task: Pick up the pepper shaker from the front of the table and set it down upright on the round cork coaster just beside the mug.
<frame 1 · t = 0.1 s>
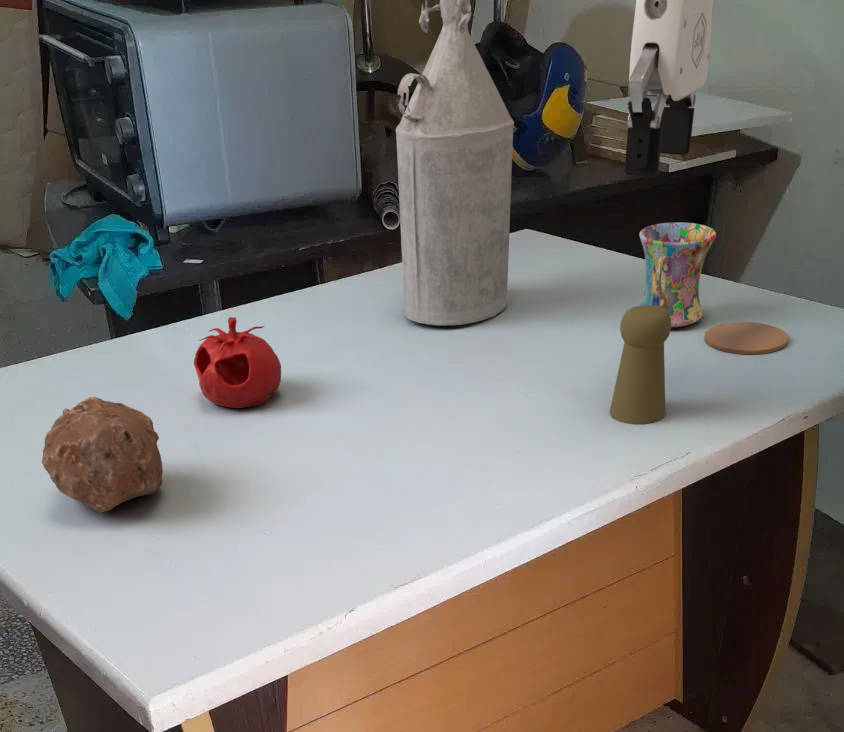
hand: (657, 163, 100), 23 cm above the table, tool pointing down, fingers open, 9 cm apart
coaster: (745, 339, 126), on the table
pepper shaker: (637, 414, 111), on the table
canister: (456, 313, 139), on the table
mug: (665, 325, 132), on the table
decorative rock: (115, 499, 102), on the table
hollow red tomato: (242, 399, 120), on the table
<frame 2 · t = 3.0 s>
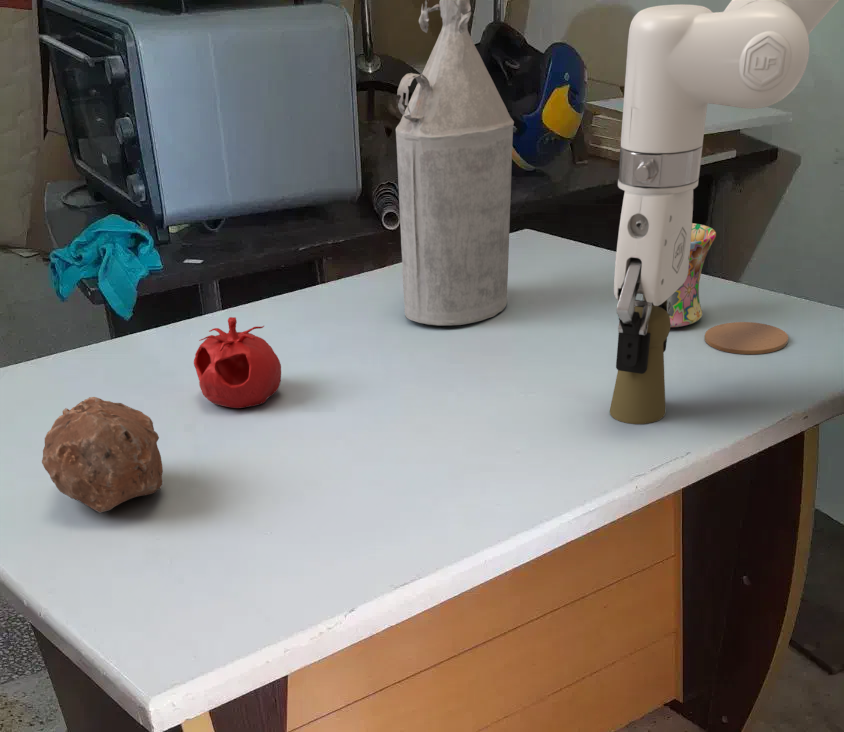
hand: (641, 359, 107), 6 cm above the table, tool pointing down, fingers closed on pepper shaker, 5 cm apart
pepper shaker: (637, 413, 111), on the table, touching gripper
everything else where it was.
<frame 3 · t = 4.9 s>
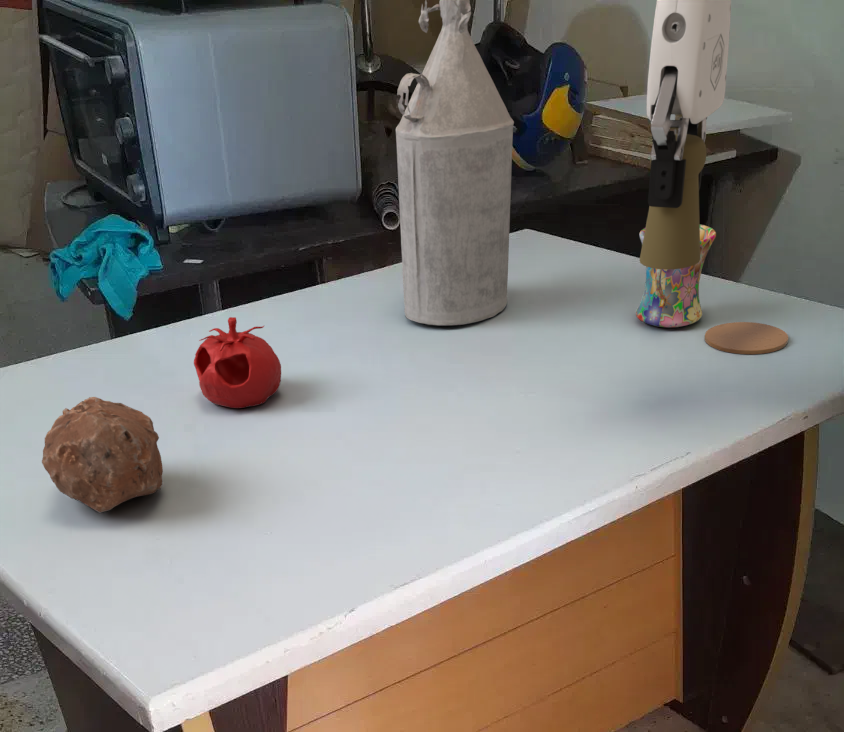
hand: (674, 196, 99), 21 cm above the table, tool pointing down, fingers closed on pepper shaker, 5 cm apart
pepper shaker: (669, 261, 103), point 15 cm above the table, touching gripper
everything else where it was.
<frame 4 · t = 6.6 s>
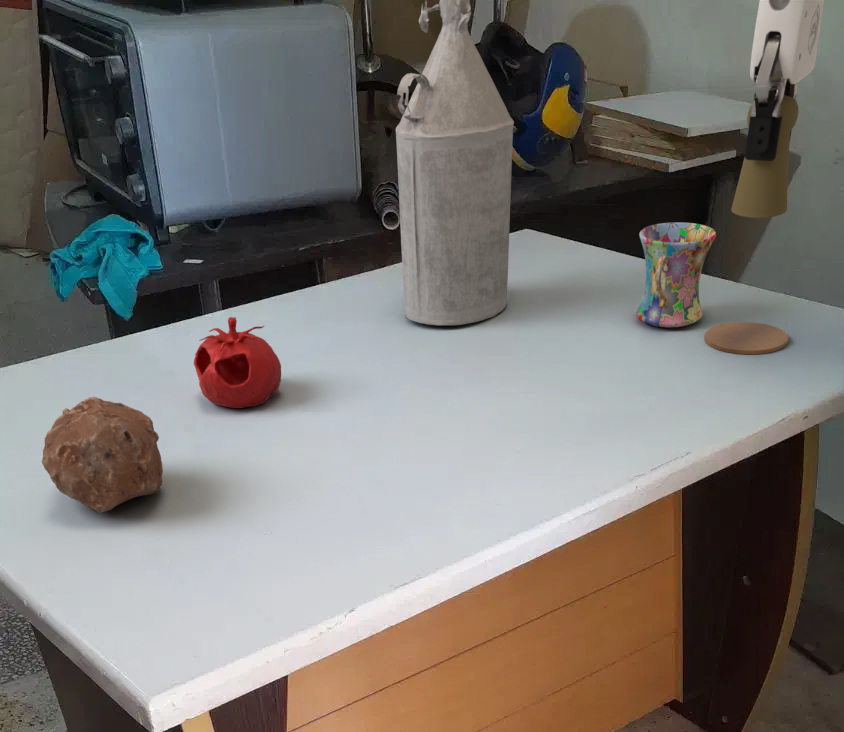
hand: (767, 151, 111), 21 cm above the table, tool pointing down, fingers closed on pepper shaker, 5 cm apart
pepper shaker: (758, 211, 115), point 15 cm above the table, touching gripper
everything else where it was.
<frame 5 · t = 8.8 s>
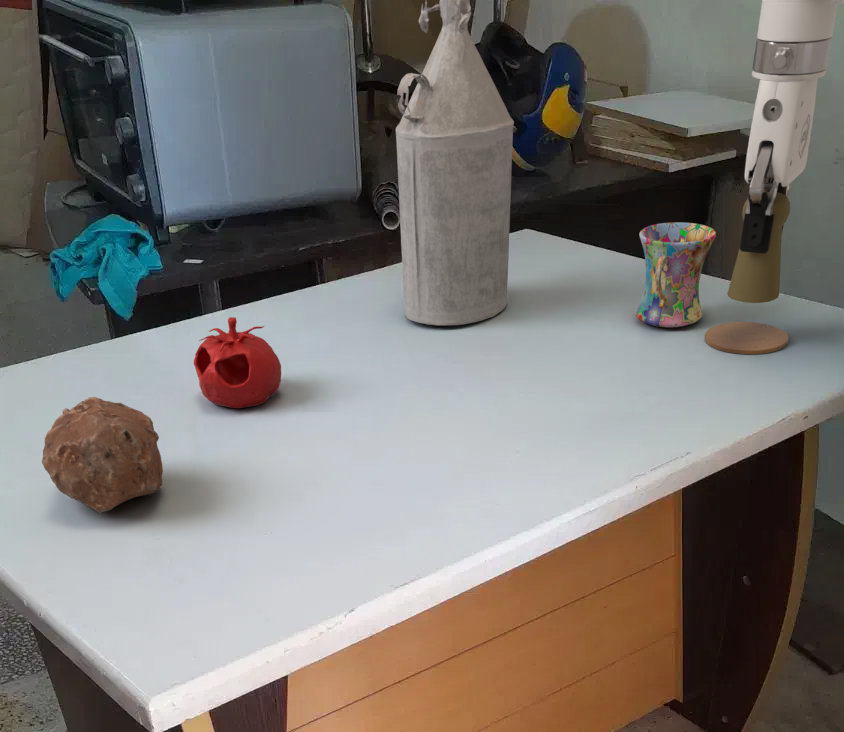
hand: (760, 242, 119), 11 cm above the table, tool pointing down, fingers closed on pepper shaker, 5 cm apart
pepper shaker: (752, 295, 123), point 5 cm above the table, touching gripper
everything else where it was.
when the fingers open (6 cm above the table, at t = 10.4 s): pepper shaker stays where it is, resting on coaster.
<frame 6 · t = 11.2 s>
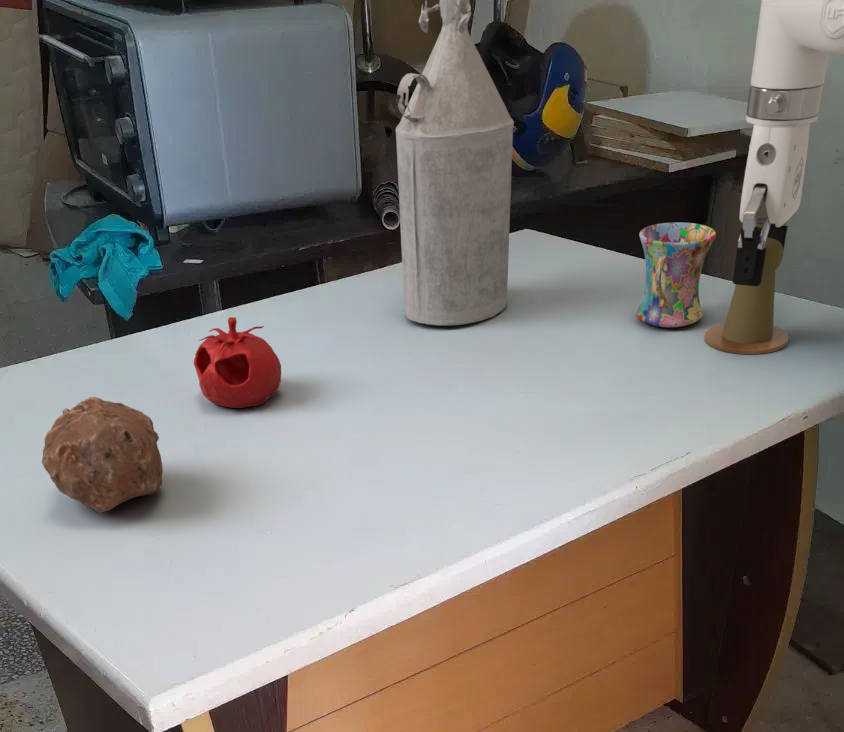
hand: (757, 272, 121), 8 cm above the table, tool pointing down, fingers open, 9 cm apart
pepper shaker: (747, 336, 126), resting on coaster
everything else where it was.
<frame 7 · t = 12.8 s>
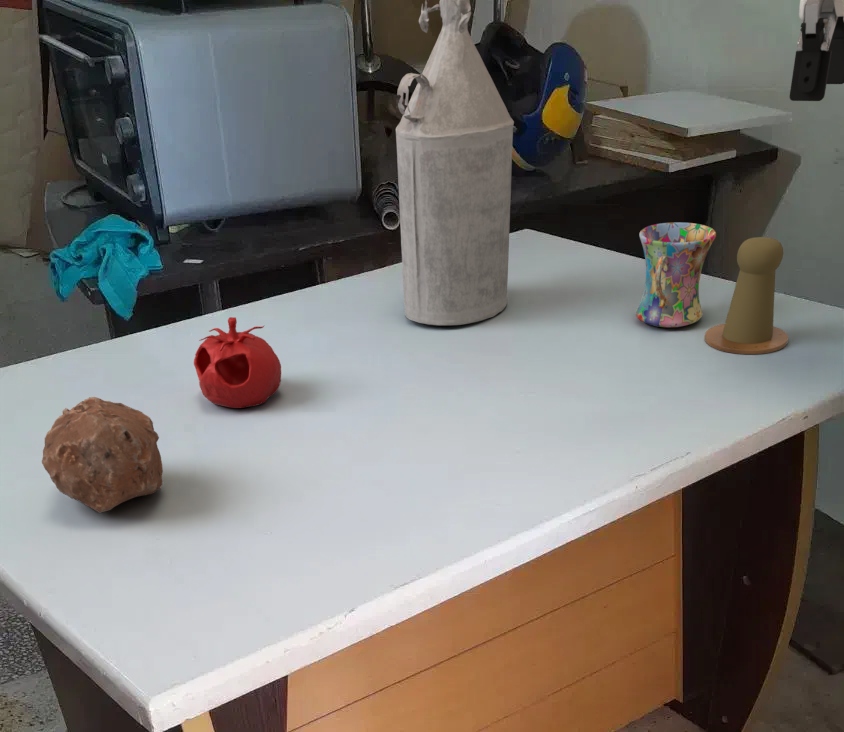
hand: (818, 91, 101), 27 cm above the table, tool pointing down, fingers open, 9 cm apart
nothing on the table moved.
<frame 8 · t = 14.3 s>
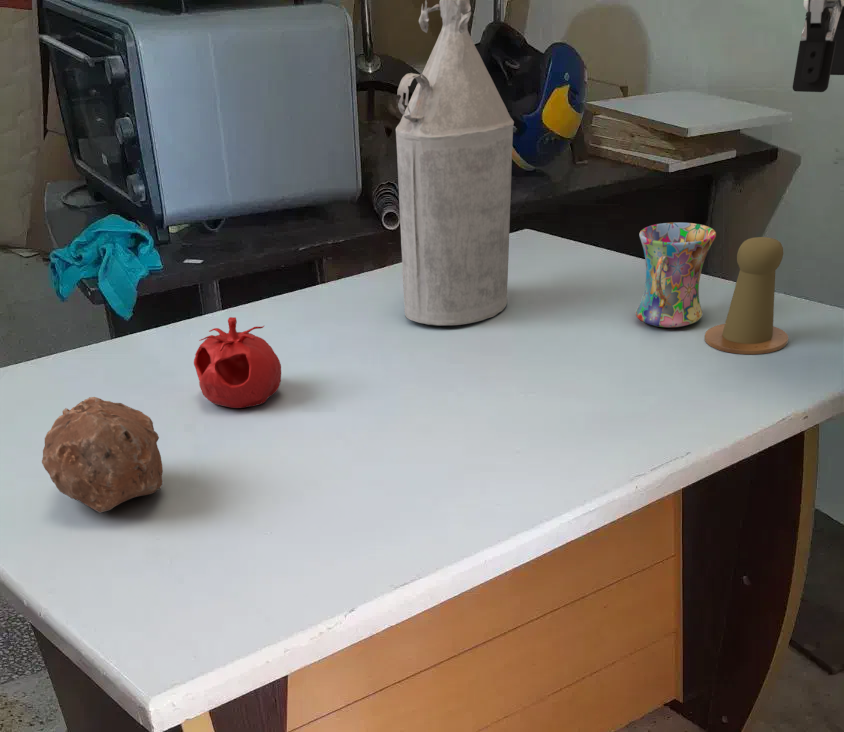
hand: (820, 82, 100), 28 cm above the table, tool pointing down, fingers open, 9 cm apart
nothing on the table moved.
at the end: pepper shaker 0.2 cm off-centre on the coaster, point 0.3 cm above the coaster's base; pepper shaker tilted 0°; pepper shaker 11.2 cm from the mug (horizontally) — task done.
